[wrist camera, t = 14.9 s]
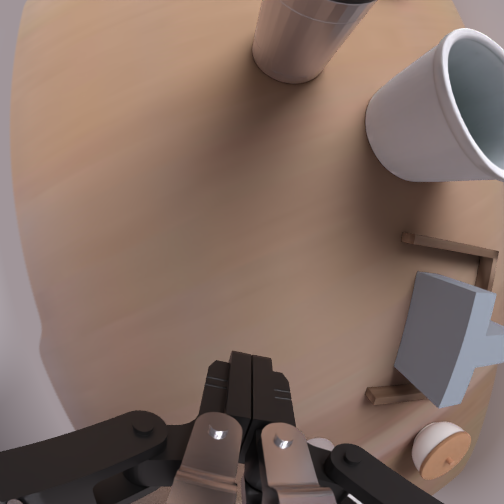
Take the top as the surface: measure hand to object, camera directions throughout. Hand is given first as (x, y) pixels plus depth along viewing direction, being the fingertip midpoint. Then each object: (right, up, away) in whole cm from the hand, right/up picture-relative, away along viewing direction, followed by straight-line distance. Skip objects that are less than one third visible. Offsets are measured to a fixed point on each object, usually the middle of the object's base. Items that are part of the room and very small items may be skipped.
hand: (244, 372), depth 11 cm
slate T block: (+27, -6, +28) cm, 39 cm away
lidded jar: (+32, -29, +32) cm, 54 cm away
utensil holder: (+21, +20, +24) cm, 38 cm away
